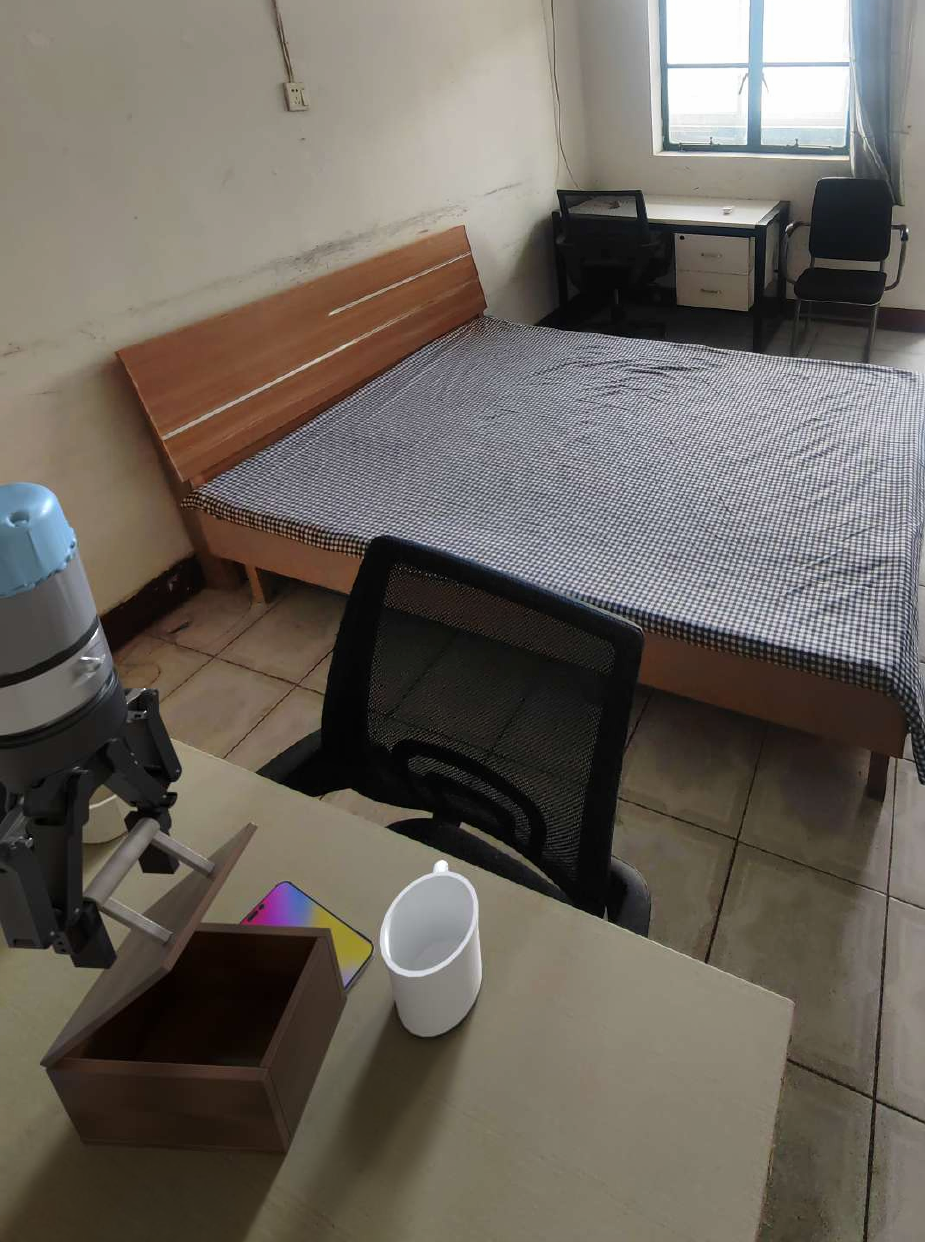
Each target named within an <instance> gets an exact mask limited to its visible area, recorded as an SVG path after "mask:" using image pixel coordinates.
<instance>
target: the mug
mask: <svg viewBox="0 0 925 1242" xmlns="http://www.w3.org/2000/svg"><path fill="white" fill-rule="evenodd" d="M380 927H381V928H380V934H379V946H380V947H379V948H380V952H381V957H382V960H383V963H384V965H385V967H386V968H385V969H386V970H387V973H388V976H389V980H390V984H391V988H392V993H393V997H394V1001H395V1005H396V1009H397V1013H398V1018H399V1021H400V1023H401V1024H402V1026H403V1028H404V1029H405V1030H406V1031H407V1032H408V1033H410V1035H412V1036H414V1037H417V1038H420V1039H427V1040H428V1039H436V1038H439V1037H442V1036H444V1035H446V1034H448V1033H450V1032H452V1031H453V1030H454V1029H456V1028H457V1027H458V1026H459V1025H460V1024H461V1023H462V1022H463V1021H464V1020H465V1019H466V1018H467V1017H468V1016H469V1013H470V1012H471V1011H472V1009H473V1008H474V1006H475V1004H476V1003H477V999H478V997H479V994H480V992H481V988H482V987H481V986H482V982H483V981H482V980H483V967H482V955H481V943H480V932H479V899H478V896H477V893H476V890H475V887H474V886H473V885H472V884H471V882H470V881H469V879H468V878H465V877H464V876H463V875H461V874H460V873H457V872H453V871H450V870H449V865H448V862H447V861H445V860H441V859H440V860H438V861H437V862H436V863H435V864H434V866H433V869H432V872H431V873H427V874H425V875H423V876H421V877H419V878H417V879H415V880H413V881H412V882H411V883H409V885H407V886H406V887H405V888H404V889H402V891H400V893H399V894H397V896H396V897H395V899H394V900H393V901H392V903H391V904H390V906H389V908H388V910H387V911H386V913H385V915H384V918H383V921H382V925H381V926H380Z"/></svg>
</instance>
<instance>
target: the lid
mask: <svg viewBox="0 0 925 1242" xmlns="http://www.w3.org/2000/svg"><path fill="white" fill-rule="evenodd" d="M258 828H259V825H258V824H256V823H254V822H252V821H250V822H249V823H247V824H246V825H245V826H244V827H242V829H241V830H239V831H238V832H237V833H236V834H235V835H234V836H232V837H231V838H230V839H229V840H228V841H226V842H225V843H224V844H223V845H222V846H221V847H219V848H218V849H217V850H215V852H214V853H212V854H211V855H210V856H209V857H208V858H206V857H203V856H202V855H200V854H198V853H197V852H195V851H193V850H192V849H191V848H189V847H187V846H185V845H183V843H180V842H179V841H177V840H176V839H174V838H172V837H171V836H170V837H169V836H167V835H166V834H164V833H162V832H161V831H159V830H160V825H159V823H158V822H157V821H156V820H154V819H152V818H142V819H140V820H139V821H138V822H137V824H136V825H135V826H134V828H133V829H132V830H131V831H130V833H128V834H127V835H126V837H124V839H123V840H122V842H121V843H120V844H119V845H118V846H117V848H116V849H115V850H114V852H113V853H112V854H111V856H110V857H109V858H108V859H107V861H106V862H105V864H104V865H103V866H102V867H101V868H100V870H99V871H98V872H97V873H96V875H95V876H94V877H93V878H92V880H91V881H90V883H89V884H88V886H87V887H86V888H85V889H83V901H95V903H96V905H97V908H98V910H99V913H102V914H103V915H105V916H107V917H109V918H111V919H112V920H113V921H116V922H118V923H120V924H121V925H123V926H125V927H127V928H128V929H130V930H129V932H128V934H126V936H125V937H124V939H123V941H121V944H120V945H119V946H118V948H117V949H116V950H115V953H116V955H117V959H116V960H115V962H114V963H113V965H112V966H111V968H110V969H102V971H101V972H100V974H99V975H98V977H97V979H96V980H95V982H94V983H93V985H91V987H90V989H89V990H88V992H87V993H86V994H85V995H84V997H83V999H82V1000H81V1002H80V1003H79V1004H78V1006H77V1008H76V1009H75V1010H74V1012H73V1014H72V1015H71V1017H70V1018H69V1020H68V1021H67V1022H66V1024H65V1025H64V1027H63V1028H62V1030H61V1031H60V1032H59V1034H58V1035H57V1037H56V1038H55V1039H54V1041H53V1043H51V1046H50V1047H49V1049H48V1050H47V1051H46V1053H45V1054H44V1056H43V1057H42V1058H41V1060H40V1062H39V1065H40V1066H41V1067H43V1068H45V1069H46V1068H49V1067H50V1066H51V1065H53V1064H54V1063H55V1062H56V1061H58V1060H59V1059H60V1058H61V1057H63V1056H64V1055H65V1054H66V1053H68V1052H69V1051H70V1050H72V1049H73V1048H74V1047H75V1046H77V1045H78V1044H79V1043H80V1042H82V1041H83V1040H84V1039H85V1038H87V1037H88V1036H89V1035H91V1034H92V1033H93V1032H94V1031H96V1030H97V1029H98V1028H99V1027H101V1026H102V1025H103V1024H104V1023H106V1022H107V1021H108V1020H110V1019H111V1018H112V1017H113V1016H115V1015H116V1014H117V1013H118V1012H120V1011H121V1010H122V1009H123V1008H125V1007H126V1006H127V1005H129V1004H130V1003H131V1002H132V1001H134V1000H135V999H136V998H137V997H139V996H140V995H141V994H142V993H144V992H145V991H146V990H148V989H149V988H150V987H151V986H153V985H154V984H155V983H156V982H158V981H159V980H160V979H161V978H163V977H164V976H165V975H167V974H168V973H169V972H170V971H171V969H172V968H173V966H174V965H175V963H176V961H177V960H178V958H179V956H180V955H181V953H182V951H183V950H184V948H185V946H186V945H187V943H188V941H189V940H190V938H191V936H192V935H193V933H194V932H195V930H196V928H197V927H198V925H199V923H200V922H202V920H203V918H204V917H205V915H206V913H207V912H208V910H209V909H210V907H211V905H213V902H214V901H215V898H217V895H218V894H219V892H220V890H221V889H222V887H223V886H224V884H225V882H226V880H227V878H228V877H229V876H230V874H231V872H232V871H233V869H234V867H235V865H236V864H237V862H238V861H239V860H240V857H241V856H242V854H243V853H244V851H245V849H246V847H247V846H248V844H249V843H250V841H251V839H252V838H253V836H254V835H255V833H256V831H257V830H258ZM150 843H151V844H153V845H154V846H156V847H158V848H159V849H161V850H162V851H164V852H166V853H167V854H169V855H171V856H172V857H174V858H176V859H177V860H178V861H179V862H181V863H182V864H184V865H186V866H187V867H189V868H191V869H193V870H192V871H191V872H190V873H189V874H188V875H186V876H185V877H184V878H183V879H182V880H180V881H179V882H178V883H176V884H175V886H173V887H172V888H171V889H169V891H168V892H166V893H165V894H163V896H161V897H160V898H159V899H157V900H156V901H155V903H153V904H151V906H149V907H148V908H147V909H146V910H145V911H144V912H143V913H141V914H140V913H138V912H137V911H135V910H133V909H132V908H130V907H128V906H127V905H124V904H123V903H121V902H119V901H118V900H116V899H114V898H113V897H111V896H112V895H113V893H115V892H116V890H117V889H118V887H119V885H120V884H121V883H122V882H123V880H124V879H125V878H126V876H127V875H128V873H129V872H130V871H131V869H132V868H133V866H134V865H136V862H137V861H138V858H139V857H140V856H141V854H142V853H143V852H144V850H145V849H146V848H147V846H148V845H149V844H150Z"/></svg>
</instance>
